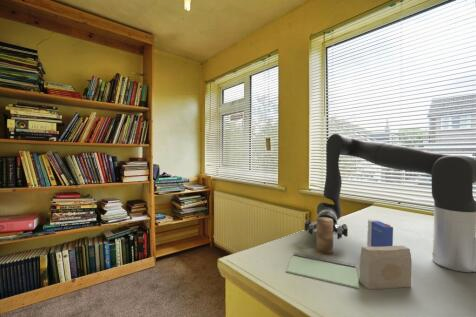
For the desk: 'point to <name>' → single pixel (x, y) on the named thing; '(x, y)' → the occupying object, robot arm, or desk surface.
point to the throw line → (325, 260)
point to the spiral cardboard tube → (324, 235)
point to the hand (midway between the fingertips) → (324, 233)
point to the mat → (324, 271)
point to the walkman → (379, 234)
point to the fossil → (385, 267)
